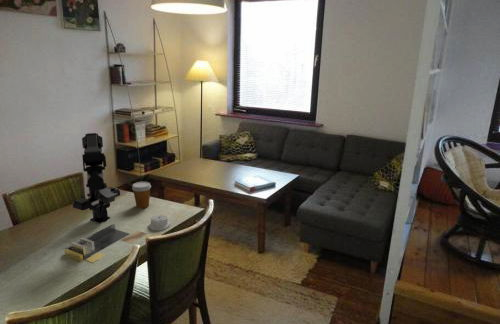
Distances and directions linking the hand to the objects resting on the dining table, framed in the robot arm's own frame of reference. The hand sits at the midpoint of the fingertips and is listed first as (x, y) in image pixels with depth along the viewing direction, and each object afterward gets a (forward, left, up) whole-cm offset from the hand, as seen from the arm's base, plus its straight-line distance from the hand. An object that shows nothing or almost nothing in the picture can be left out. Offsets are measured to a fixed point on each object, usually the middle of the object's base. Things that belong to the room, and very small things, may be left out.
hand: (99, 217), depth 144 cm
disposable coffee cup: (-13, +37, -12) cm, 41 cm away
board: (+8, +10, -12) cm, 17 cm away
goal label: (+7, -9, -12) cm, 16 cm away
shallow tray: (-1, -1, -12) cm, 12 cm away
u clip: (0, -9, -12) cm, 15 cm away
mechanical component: (+10, +24, -12) cm, 29 cm away
